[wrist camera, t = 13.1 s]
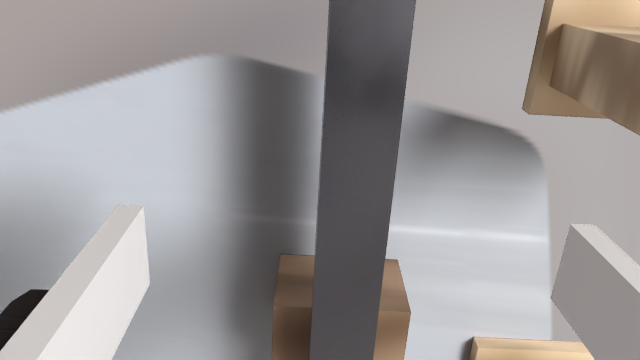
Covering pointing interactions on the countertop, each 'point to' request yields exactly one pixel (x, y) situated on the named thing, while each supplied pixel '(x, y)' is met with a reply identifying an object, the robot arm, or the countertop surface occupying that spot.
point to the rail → (357, 171)
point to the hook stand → (578, 107)
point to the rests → (297, 305)
